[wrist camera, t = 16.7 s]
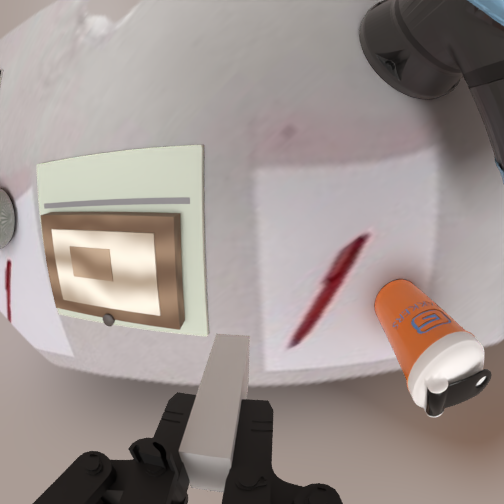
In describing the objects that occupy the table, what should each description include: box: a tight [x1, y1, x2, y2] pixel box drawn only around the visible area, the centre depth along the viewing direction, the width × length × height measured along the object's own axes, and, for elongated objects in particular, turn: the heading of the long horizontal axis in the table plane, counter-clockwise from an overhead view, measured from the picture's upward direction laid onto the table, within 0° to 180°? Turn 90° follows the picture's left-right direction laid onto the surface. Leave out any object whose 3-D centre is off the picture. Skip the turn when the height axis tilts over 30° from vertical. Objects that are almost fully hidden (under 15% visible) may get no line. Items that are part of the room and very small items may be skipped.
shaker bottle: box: [375, 279, 491, 417], centre depth 28 cm, size 9×9×20 cm
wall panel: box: [37, 145, 209, 337], centre depth 38 cm, size 26×28×1 cm
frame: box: [41, 212, 185, 330], centre depth 36 cm, size 16×22×3 cm
